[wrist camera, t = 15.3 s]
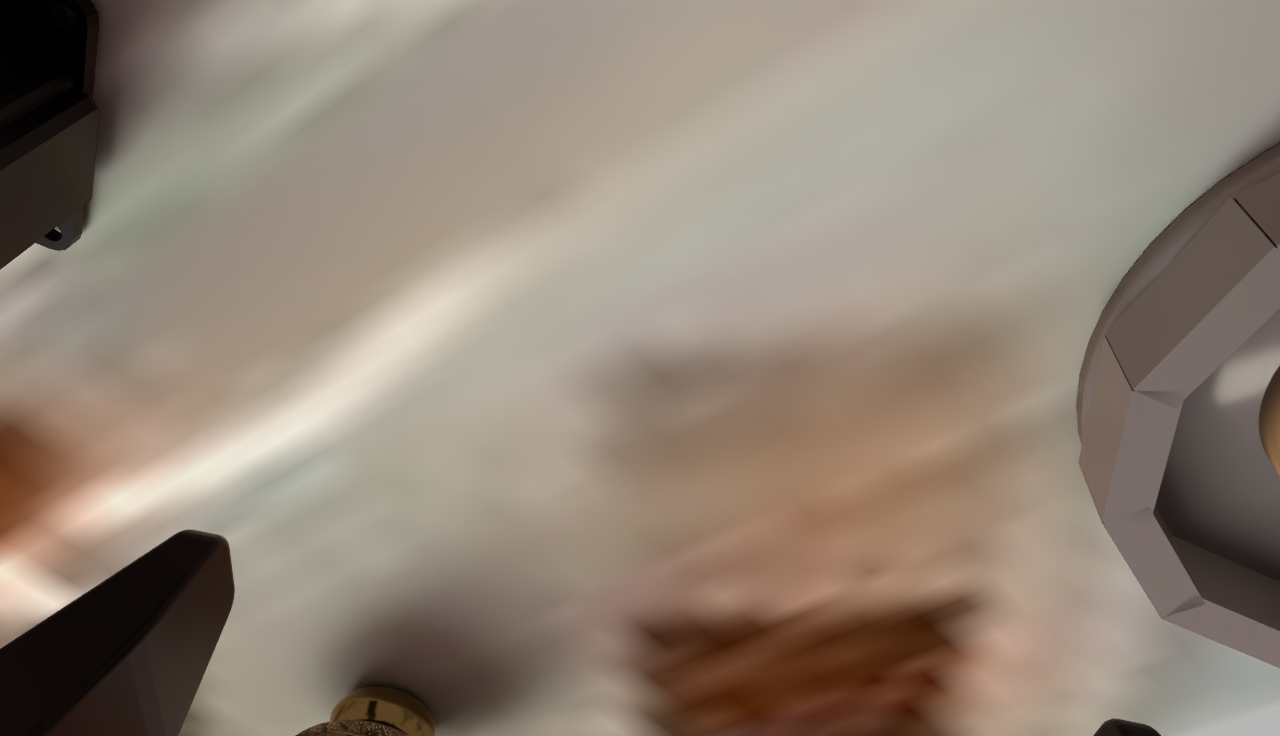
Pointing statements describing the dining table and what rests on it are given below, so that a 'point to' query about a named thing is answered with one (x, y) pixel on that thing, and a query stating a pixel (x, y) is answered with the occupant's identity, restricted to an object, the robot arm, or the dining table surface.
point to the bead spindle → (1271, 421)
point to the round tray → (1194, 414)
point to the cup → (376, 715)
